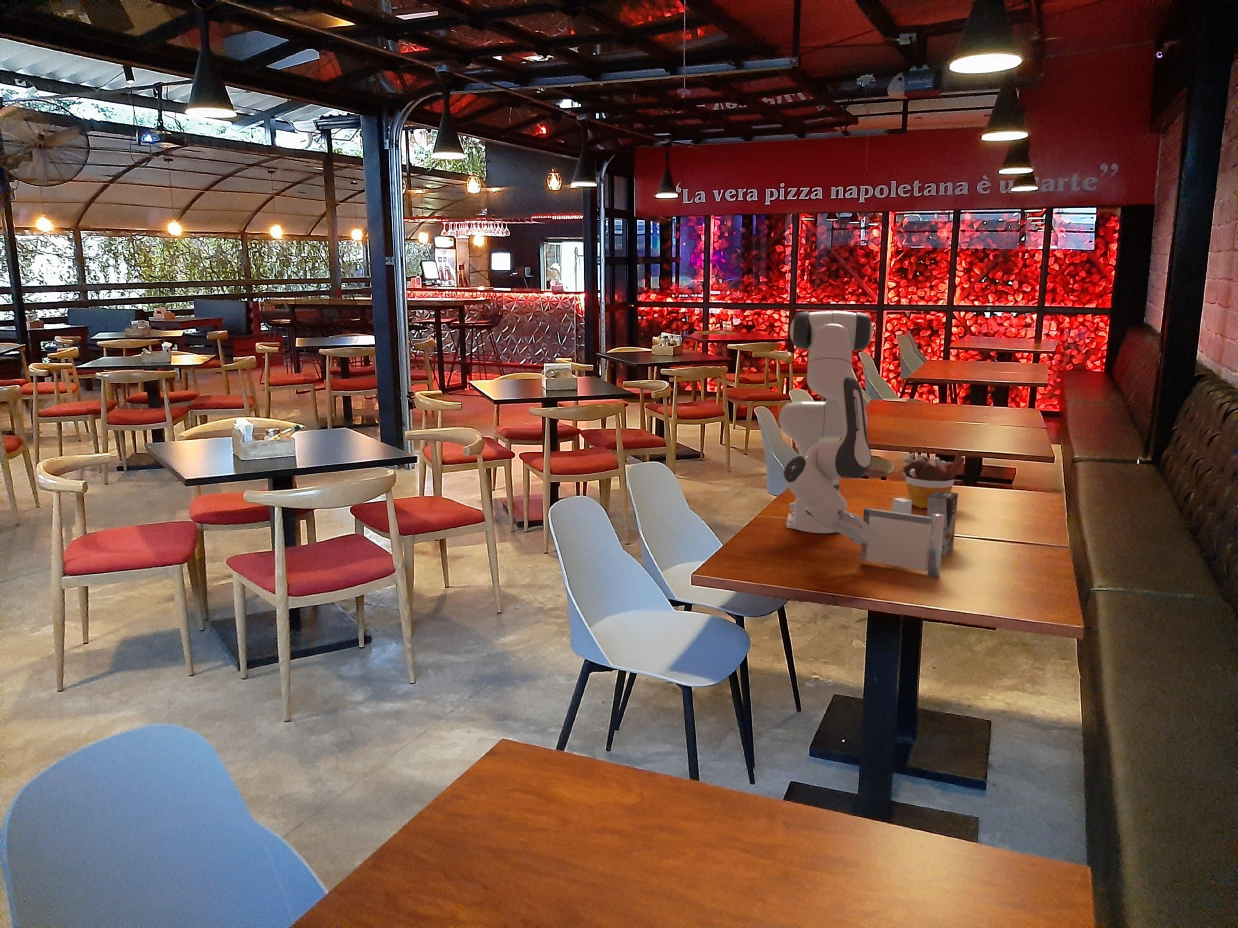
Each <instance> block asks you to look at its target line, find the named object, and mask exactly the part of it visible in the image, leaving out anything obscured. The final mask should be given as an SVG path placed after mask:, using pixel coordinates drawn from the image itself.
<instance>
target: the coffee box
mask: <svg viewBox="0 0 1238 928" xmlns="http://www.w3.org/2000/svg"><path fill="white" fill-rule="evenodd" d="M958 493H959V492H958ZM958 493H957V492H952V491H951V492H940V491H935V492H934V493H932V494H931V495H929V496H928V508H927V509H926V510H927V513H926V516H927V517H931V519H932V514H935V513H936V514H943V515H944V526H943V539H942V551H941V556H947V555H948V554H949V553H950V552H951V551H952V550H953V549H954V544H955V532H956V521H957V520H956V519H957V509H958V497H959V494H958ZM930 532H931V528H930ZM929 544H930V541H929Z"/></svg>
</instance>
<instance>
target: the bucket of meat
mask: <svg viewBox="0 0 1238 928" xmlns="http://www.w3.org/2000/svg"><path fill="white" fill-rule="evenodd" d="M915 456H916V454H915V453H914V452H912V453H910V454H909V455H908V457H907V456H905V457H903V458H902V463H907V464H905V466H903V468H902V470H903V471H904V474H905V481H906V487H907V488H906V489H907V494H908V500H911V501H912V505H914V506H916V507H921V508H926V509H925V510H927V508H928V496H929V495H931V494H932V493H934V492H935V491H940V492H951V493H952V489H953V486H954V484H955V479H956V478H955V477H956V475H957V472H958V471H959V469H961V467H962V465H963V464H964V463H965V461H966V459H965V457H964V451H963V450H958V451H957V452H956V455H955V456H954V460H953V462H952V461H945V460H941V458H940V457H939V456H938V457H937V456H936V457H934V459H931V458H930V457H927V456H926V455H922V454H918V455H917V456H916V457H915ZM914 458H915V459H914ZM914 506H913V507H914ZM916 507H915V508H916ZM921 508H920V509H921Z"/></svg>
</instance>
